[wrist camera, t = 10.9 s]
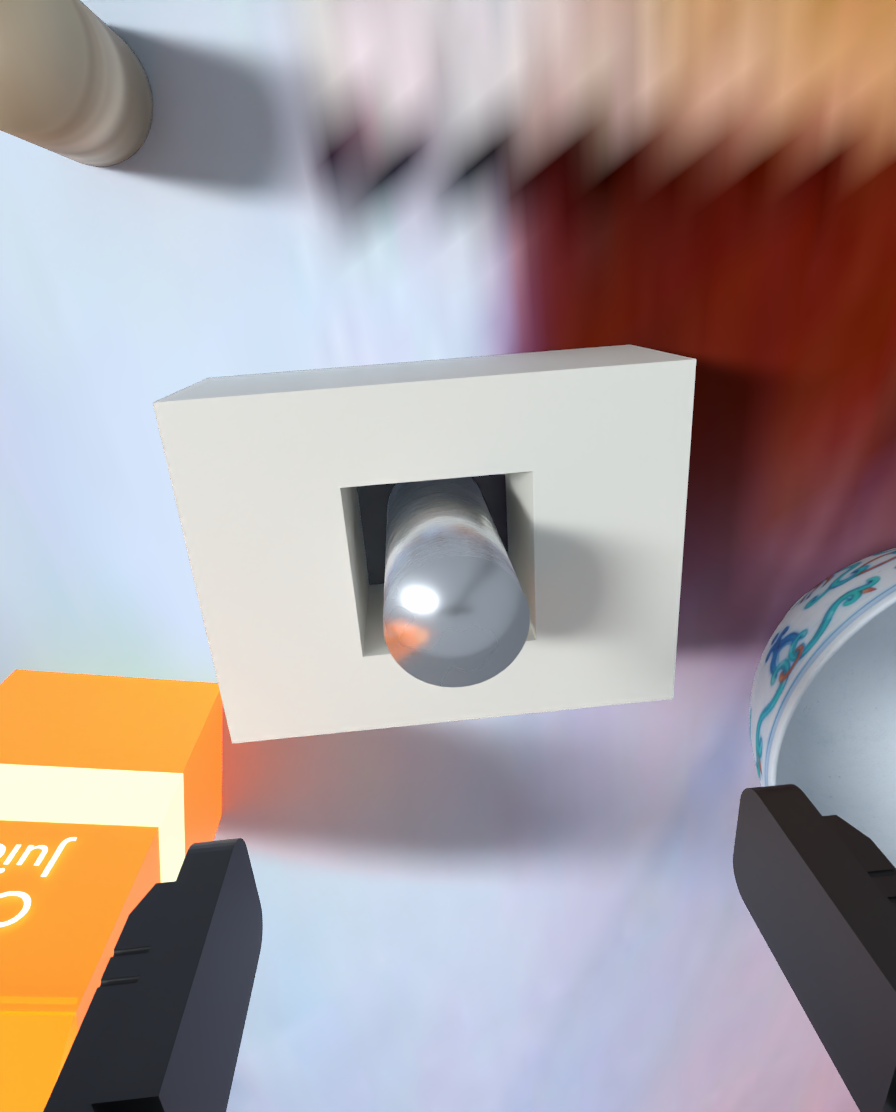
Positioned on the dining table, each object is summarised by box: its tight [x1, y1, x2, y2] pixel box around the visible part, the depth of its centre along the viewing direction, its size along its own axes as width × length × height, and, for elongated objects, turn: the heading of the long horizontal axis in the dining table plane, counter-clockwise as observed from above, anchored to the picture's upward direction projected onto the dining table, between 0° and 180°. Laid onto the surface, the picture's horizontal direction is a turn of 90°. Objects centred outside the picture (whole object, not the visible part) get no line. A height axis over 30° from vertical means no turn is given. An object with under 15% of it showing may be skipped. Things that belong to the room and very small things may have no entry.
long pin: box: [383, 477, 530, 688], centre depth 23 cm, size 4×4×10 cm
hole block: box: [153, 345, 696, 744], centre depth 24 cm, size 16×12×6 cm
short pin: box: [0, 0, 153, 166], centre depth 19 cm, size 4×4×5 cm
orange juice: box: [0, 670, 222, 1112], centre depth 21 cm, size 8×9×20 cm
